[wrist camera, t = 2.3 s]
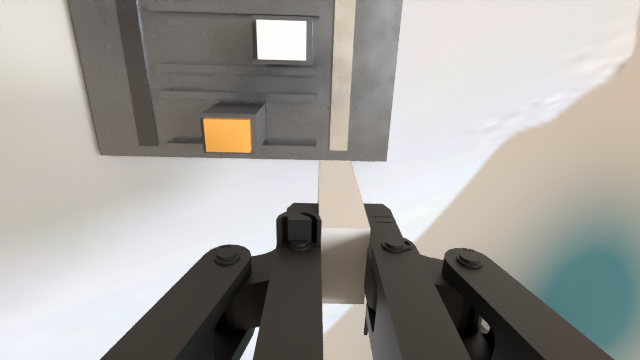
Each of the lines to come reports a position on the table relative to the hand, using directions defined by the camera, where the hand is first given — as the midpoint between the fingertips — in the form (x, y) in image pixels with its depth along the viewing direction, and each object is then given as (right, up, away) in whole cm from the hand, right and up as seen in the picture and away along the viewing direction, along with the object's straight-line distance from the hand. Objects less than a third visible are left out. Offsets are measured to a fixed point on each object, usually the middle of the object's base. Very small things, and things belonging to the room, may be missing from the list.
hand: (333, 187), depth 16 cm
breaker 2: (-3, +12, +11) cm, 16 cm away
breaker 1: (-7, +6, +13) cm, 16 cm away
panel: (-7, +12, +12) cm, 19 cm away
